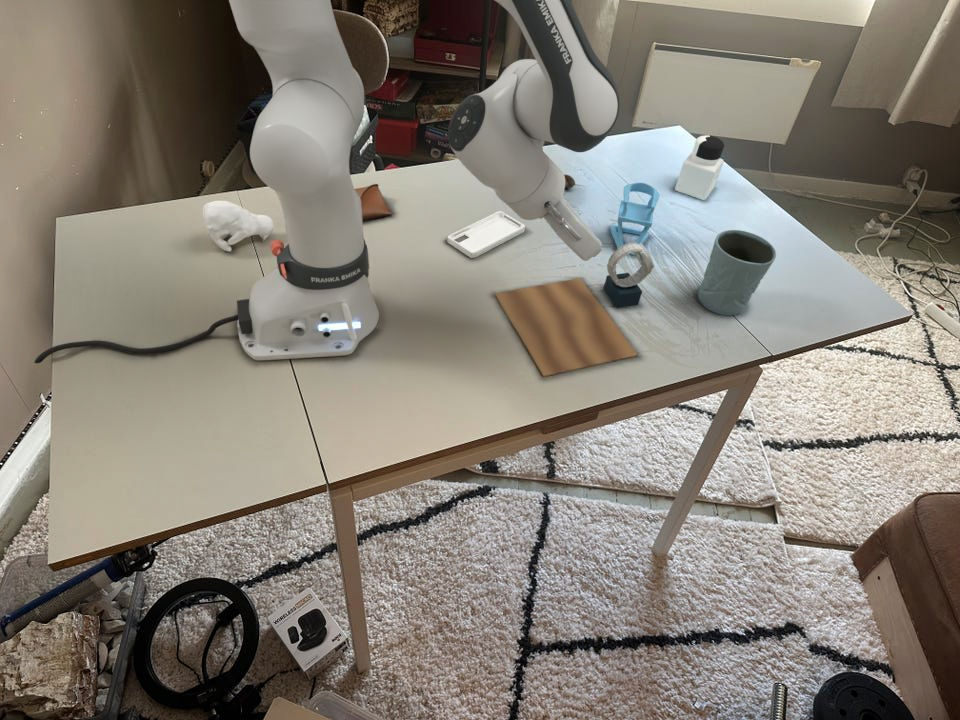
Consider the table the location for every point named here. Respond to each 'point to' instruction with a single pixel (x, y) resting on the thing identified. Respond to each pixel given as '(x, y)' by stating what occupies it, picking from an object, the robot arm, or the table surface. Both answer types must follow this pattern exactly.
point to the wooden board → (564, 327)
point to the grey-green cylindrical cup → (734, 271)
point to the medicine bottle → (701, 168)
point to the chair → (635, 214)
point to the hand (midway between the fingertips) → (582, 234)
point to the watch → (627, 276)
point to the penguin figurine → (234, 223)
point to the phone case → (486, 234)
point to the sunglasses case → (372, 203)
